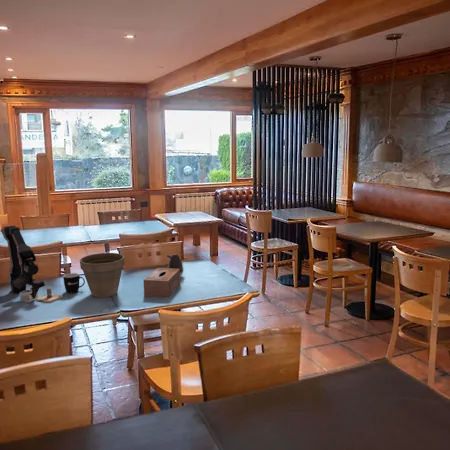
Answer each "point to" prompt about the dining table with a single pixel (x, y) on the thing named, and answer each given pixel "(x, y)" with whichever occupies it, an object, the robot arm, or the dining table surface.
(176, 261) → the pump dispenser
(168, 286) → the tissue box cover
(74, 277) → the mug
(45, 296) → the shaft block
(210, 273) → the dining table surface
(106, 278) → the plant pot
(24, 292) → the collar
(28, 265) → the robot arm
